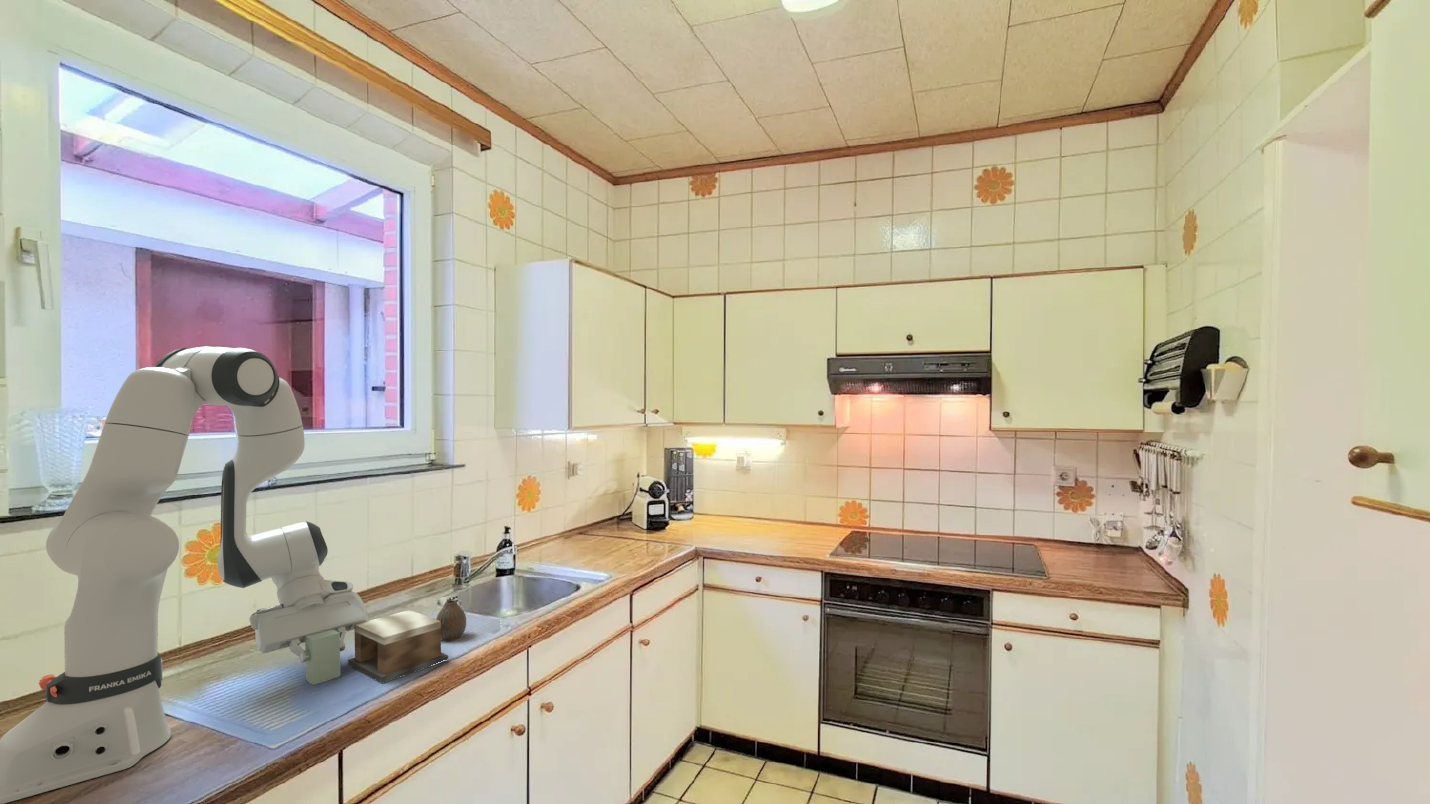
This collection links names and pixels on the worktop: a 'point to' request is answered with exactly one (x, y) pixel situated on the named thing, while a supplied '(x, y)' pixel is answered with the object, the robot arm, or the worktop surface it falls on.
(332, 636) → the block
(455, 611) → the vase
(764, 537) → the worktop surface
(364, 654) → the bridge
